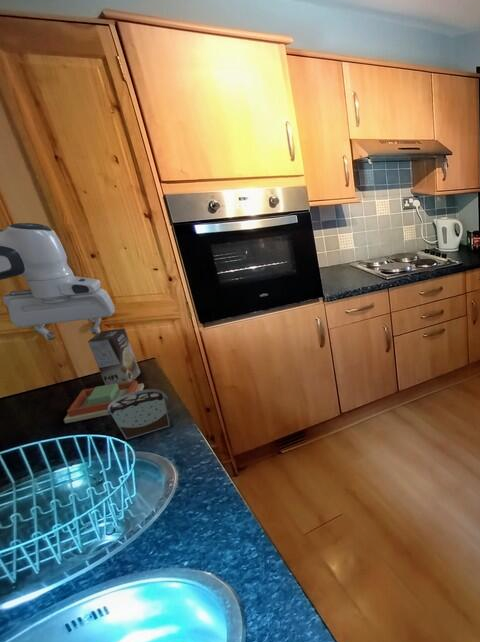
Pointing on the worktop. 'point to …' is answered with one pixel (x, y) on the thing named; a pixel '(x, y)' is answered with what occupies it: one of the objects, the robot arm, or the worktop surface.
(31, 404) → the worktop surface
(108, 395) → the green pad
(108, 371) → the coffee box
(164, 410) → the food container
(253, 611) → the worktop surface
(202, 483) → the worktop surface
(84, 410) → the orange tray
